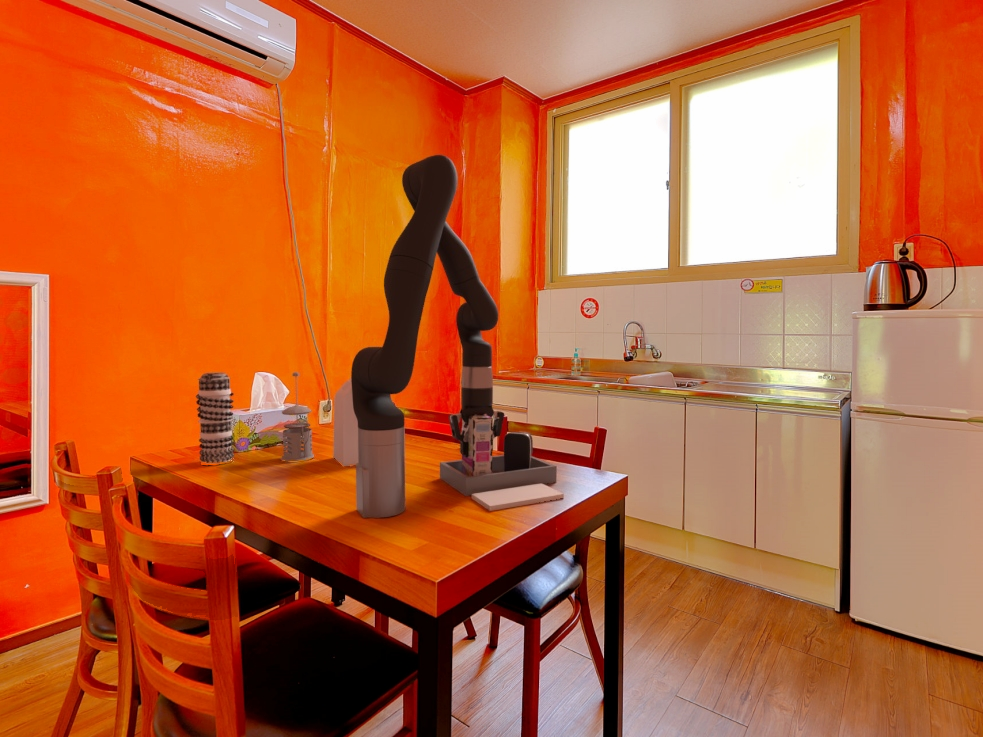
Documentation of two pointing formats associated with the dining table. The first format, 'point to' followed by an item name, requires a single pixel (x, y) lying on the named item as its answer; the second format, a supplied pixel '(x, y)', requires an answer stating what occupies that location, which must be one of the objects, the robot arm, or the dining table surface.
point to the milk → (345, 427)
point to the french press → (297, 434)
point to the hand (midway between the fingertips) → (476, 455)
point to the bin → (497, 476)
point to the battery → (517, 451)
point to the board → (516, 496)
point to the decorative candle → (215, 418)
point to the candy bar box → (479, 446)
